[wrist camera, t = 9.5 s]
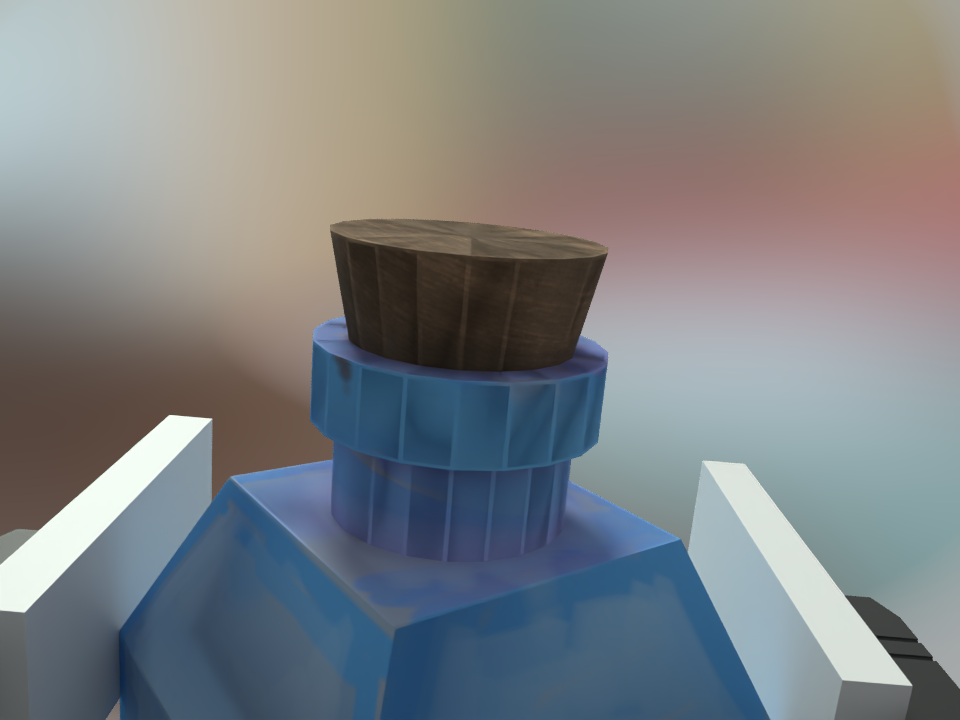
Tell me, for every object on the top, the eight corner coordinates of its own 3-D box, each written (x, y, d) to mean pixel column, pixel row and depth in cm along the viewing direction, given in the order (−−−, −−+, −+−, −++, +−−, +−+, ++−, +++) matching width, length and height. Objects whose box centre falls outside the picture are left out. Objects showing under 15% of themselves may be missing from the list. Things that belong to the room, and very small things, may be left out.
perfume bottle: (707, 1118, 13) (870, 277, 10) (303, 1483, 9) (364, 302, 6) (456, 831, 17) (513, 209, 14) (125, 992, 14) (109, 200, 11)
